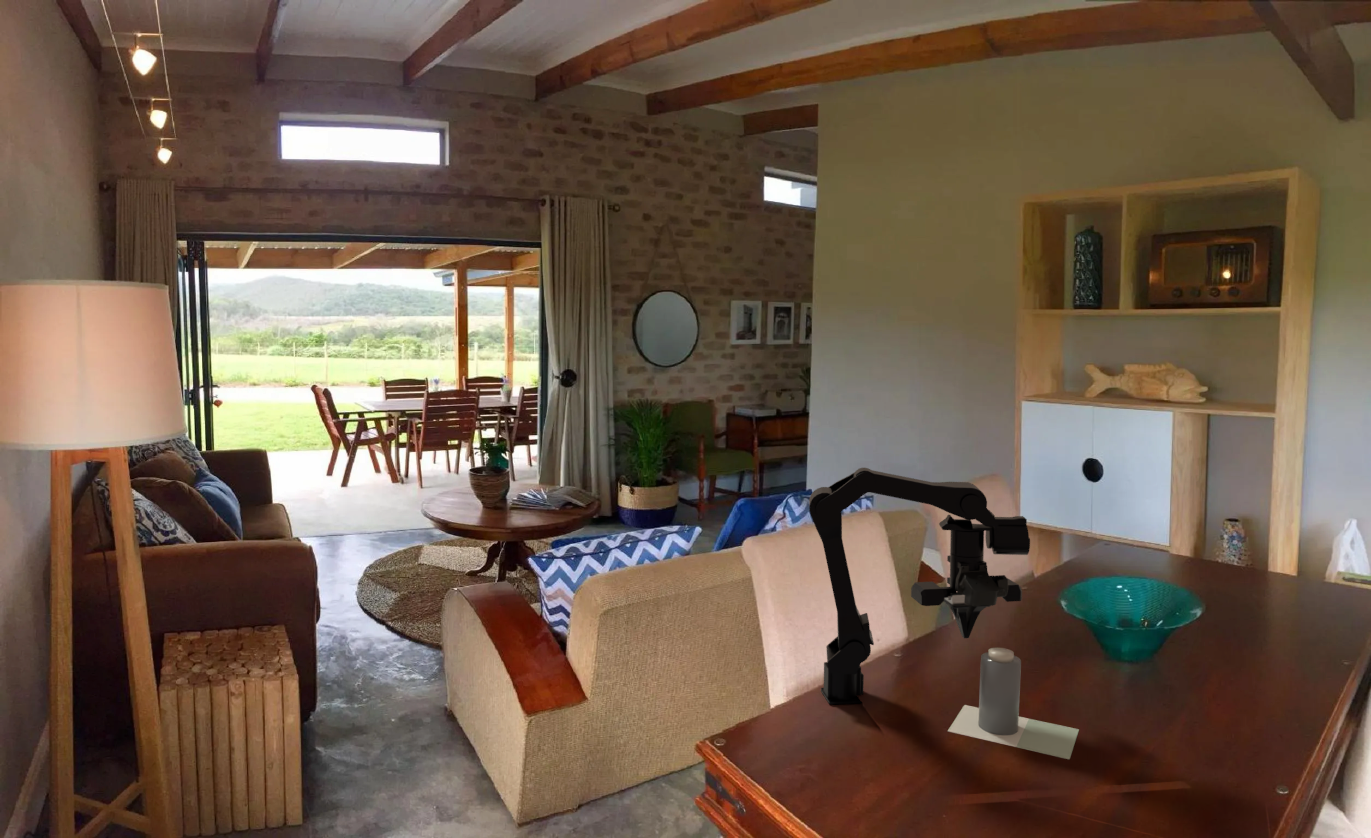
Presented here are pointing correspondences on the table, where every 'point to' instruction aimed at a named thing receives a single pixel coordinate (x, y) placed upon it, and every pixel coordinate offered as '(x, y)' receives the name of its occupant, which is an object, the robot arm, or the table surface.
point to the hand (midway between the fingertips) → (965, 637)
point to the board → (1020, 734)
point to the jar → (999, 692)
